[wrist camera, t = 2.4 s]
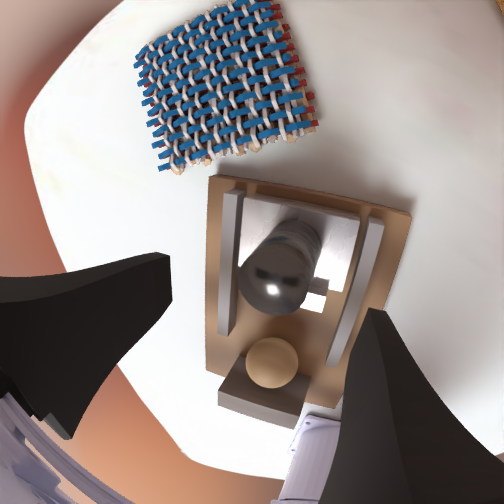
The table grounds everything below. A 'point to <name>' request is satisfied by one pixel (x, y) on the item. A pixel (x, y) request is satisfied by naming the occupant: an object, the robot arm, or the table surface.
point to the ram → (293, 253)
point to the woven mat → (224, 84)
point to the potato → (501, 5)
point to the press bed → (302, 320)
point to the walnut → (272, 362)
